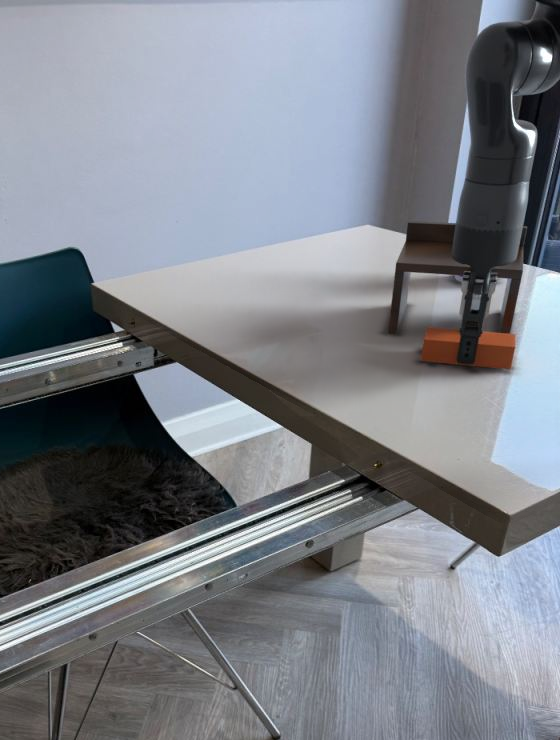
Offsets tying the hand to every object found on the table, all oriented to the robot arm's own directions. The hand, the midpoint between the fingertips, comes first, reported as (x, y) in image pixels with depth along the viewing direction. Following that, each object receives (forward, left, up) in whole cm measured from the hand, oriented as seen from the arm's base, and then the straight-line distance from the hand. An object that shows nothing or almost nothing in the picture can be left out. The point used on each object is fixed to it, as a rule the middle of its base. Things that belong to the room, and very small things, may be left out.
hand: (466, 354), depth 102 cm
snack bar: (0, 0, -1) cm, 1 cm away
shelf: (+9, -10, -1) cm, 14 cm away
